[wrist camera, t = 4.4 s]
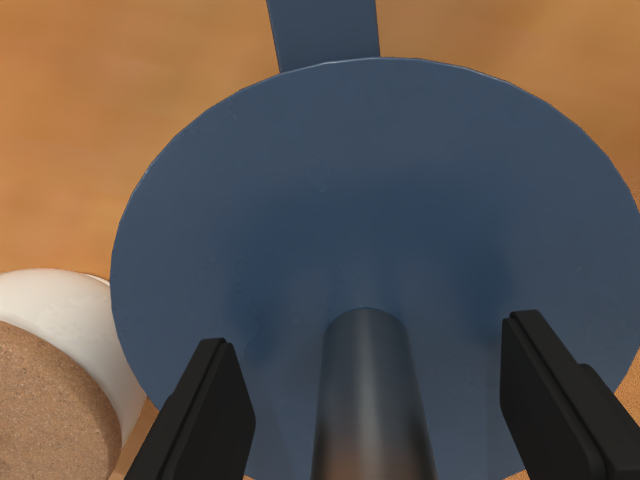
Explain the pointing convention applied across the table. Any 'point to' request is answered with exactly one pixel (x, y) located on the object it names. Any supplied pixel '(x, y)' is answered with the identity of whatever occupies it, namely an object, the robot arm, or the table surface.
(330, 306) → the lid
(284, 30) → the pot
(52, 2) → the table surface
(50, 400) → the trinket box
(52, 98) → the table surface
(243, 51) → the table surface
